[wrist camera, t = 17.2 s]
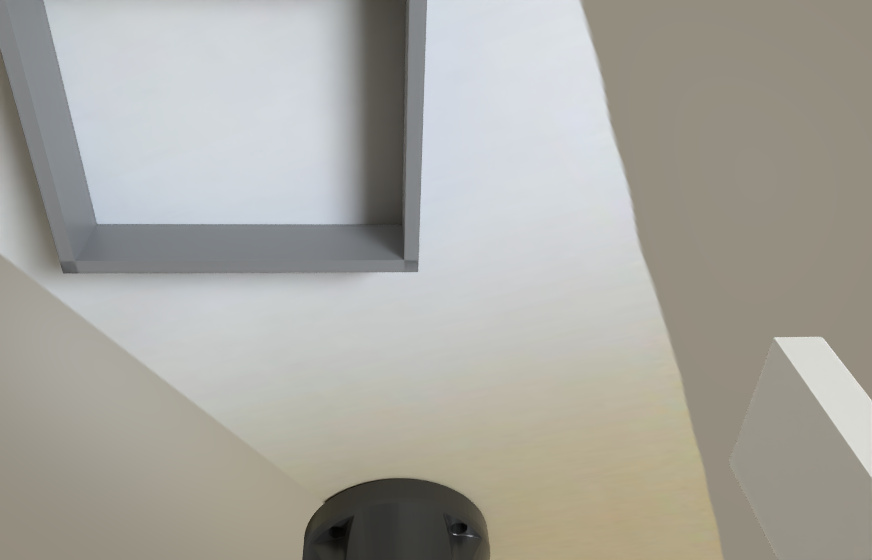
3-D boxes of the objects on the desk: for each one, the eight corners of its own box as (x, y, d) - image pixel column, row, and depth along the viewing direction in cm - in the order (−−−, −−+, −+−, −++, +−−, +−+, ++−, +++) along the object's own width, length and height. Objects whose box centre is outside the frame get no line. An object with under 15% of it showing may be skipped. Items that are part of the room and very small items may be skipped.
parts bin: (414, 236, 47) (417, 271, 44) (85, 236, 45) (63, 273, 42) (423, -76, 37) (428, -60, 34) (3, -89, 36) (-34, -74, 32)
